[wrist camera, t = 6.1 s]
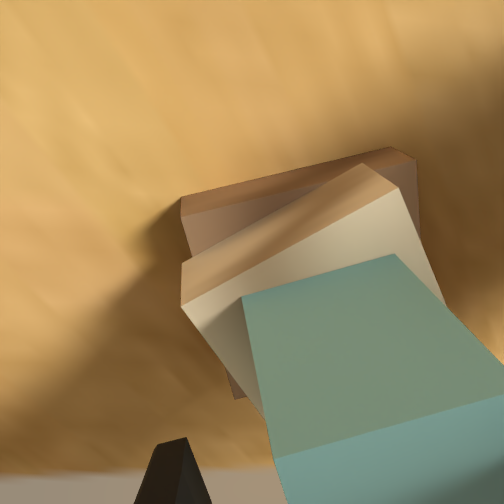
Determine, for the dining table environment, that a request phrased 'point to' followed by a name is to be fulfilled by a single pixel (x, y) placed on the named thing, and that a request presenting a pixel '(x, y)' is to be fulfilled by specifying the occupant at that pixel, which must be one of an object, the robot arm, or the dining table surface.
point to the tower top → (296, 258)
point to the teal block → (376, 391)
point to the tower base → (284, 200)
